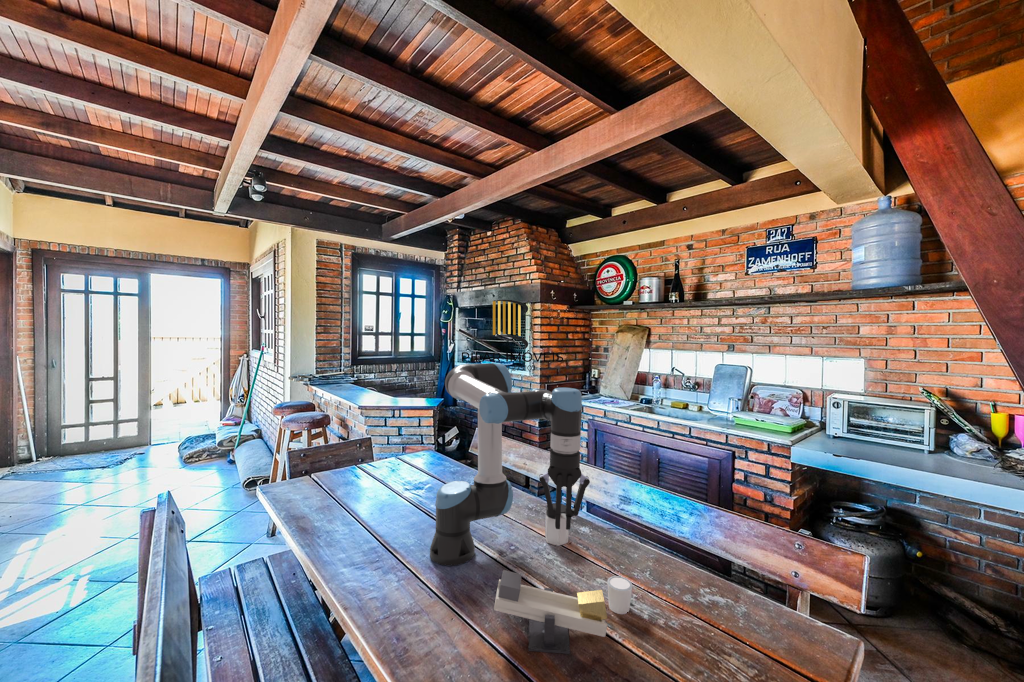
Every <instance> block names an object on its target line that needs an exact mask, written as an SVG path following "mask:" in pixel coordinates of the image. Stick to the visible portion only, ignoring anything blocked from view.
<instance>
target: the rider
mask: <svg viewBox="0 0 1024 682" xmlns="http://www.w3.org/2000/svg"><path fill="white" fill-rule="evenodd" d="M576 594H577V595H576V596H577V598H578V604H579V610H580V616H581V617H583V618H587V619H591V620H602V619H605V620H608V614H607V609H606V602H605V599H604V594H603V590H602V589H598V590H590V591H581V592H580V591H579V592H576Z"/></svg>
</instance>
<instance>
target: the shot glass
mask: <svg viewBox="0 0 1024 682" xmlns="http://www.w3.org/2000/svg"><path fill="white" fill-rule="evenodd" d="M606 583H607V600H608V601H607V602H608V608H609V610H610V611H612V612H613V613H614V614H616V615H617V614H618V615H625V614H627V612H628V613H629V611H630V609H631V608H630V607H631V601H632V600H631V599H632V592H633V583H632V582H631V580H630V579H628V578H626V577H624V576H621V575H612V576H610V577H608V578H607V581H606Z"/></svg>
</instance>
